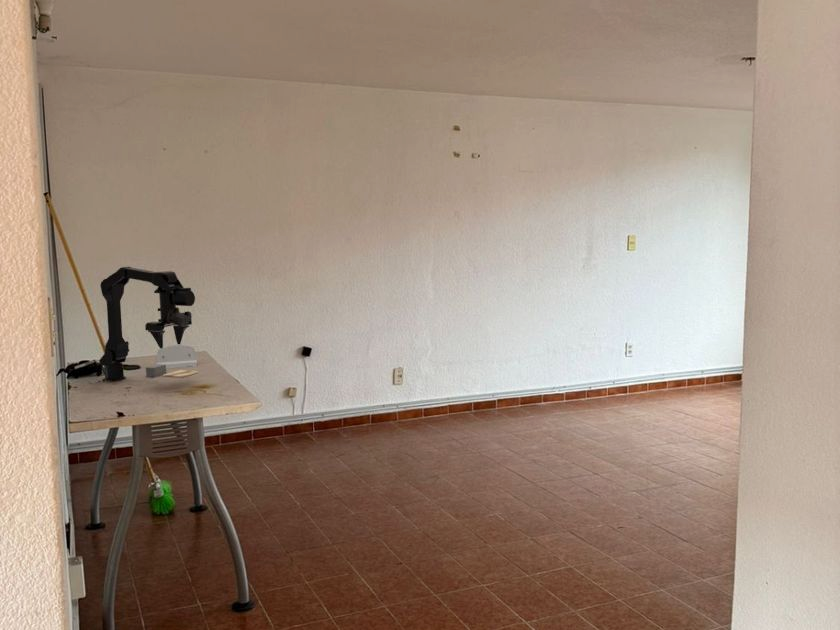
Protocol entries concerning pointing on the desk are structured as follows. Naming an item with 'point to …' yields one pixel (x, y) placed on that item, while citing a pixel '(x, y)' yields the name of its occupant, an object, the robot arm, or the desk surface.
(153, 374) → the plug
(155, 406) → the desk surface
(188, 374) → the coaster
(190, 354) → the hinge
